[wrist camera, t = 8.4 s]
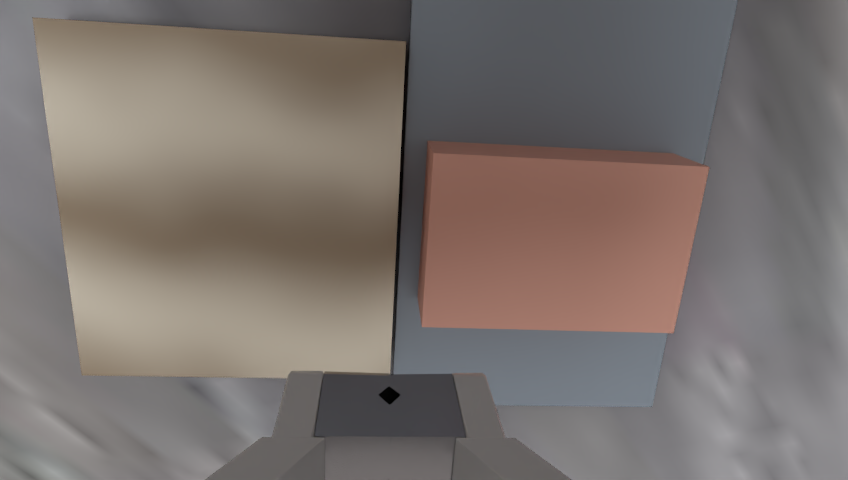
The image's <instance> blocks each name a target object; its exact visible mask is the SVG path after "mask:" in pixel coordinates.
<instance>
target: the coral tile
mask: <svg viewBox="0 0 848 480" xmlns="http://www.w3.org/2000/svg"><path fill="white" fill-rule="evenodd" d="M708 172H709V167H708V166H706V165H703V164H700V163H698V162H695V161H692V160H690V159H687V158H684V157H682V156H679V155H676V154H674V153H658V152H638V151H619V150H600V149H580V148H561V147H542V146H523V145H503V144H484V143H465V142H445V141H427V156H426V172H425V187H424V203H423V218H422V234H421V249H420V265H419V281H418V296H417V298H418V305H419V311H420V318H421V325H422V327H436V328H477V329H519V330H561V331H602V332H644V333H674V329H675V324H676V320H677V315H678V310H679V306H680V301H681V296H682V292H683V287H684V283H685V278H686V273H687V269H688V264H689V260H690V255H691V250H692V246H693V241H694V236H695V232H696V227H697V223H698V218H699V213H700V209H701V204H702V200H703V195H704V190H705V186H706V181H707V176H708Z"/></svg>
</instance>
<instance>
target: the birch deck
mask: <svg viewBox="0 0 848 480" xmlns="http://www.w3.org/2000/svg"><path fill="white" fill-rule="evenodd" d="M32 18H33V17H32ZM33 25H34V33H35V40H36V47H37V54H38V62H39V69H40V76H41V83H42V90H43V98H44V105H45V112H46V119H47V127H48V134H49V141H50V148H51V156H52V163H53V170H54V177H55V185H56V192H57V199H58V206H59V214H60V221H61V228H62V235H63V243H64V250H65V257H66V264H67V272H68V279H69V286H70V293H71V300H72V308H73V315H74V322H75V329H76V337H77V344H78V351H79V358H80V366H81V373H82V375H95V376H165V377H235V378H287V377H288V374H289V373H290V372H291V371H323V372H325V371H332V372H362V373H389V374H390V364H391V344H392V323H393V302H394V281H395V261H396V240H397V219H398V199H399V178H400V157H401V137H402V116H403V95H404V74H405V54H406V41H391V40H376V39H360V38H345V37H329V36H313V35H298V34H282V33H267V32H251V31H235V30H220V29H204V28H189V27H173V26H157V25H142V24H126V23H111V22H95V21H79V20H64V19H48V18H33Z"/></svg>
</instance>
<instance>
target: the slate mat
mask: <svg viewBox="0 0 848 480" xmlns="http://www.w3.org/2000/svg"><path fill="white" fill-rule="evenodd" d="M737 2H738V0H412V1H411V21H410V41H409V61H408V81H407V101H406V121H405V141H404V161H403V181H402V201H401V221H400V241H399V261H398V281H397V301H396V321H395V341H394V361H393V374H451V373H483V374H484V375H486V378H487V381H488V384H489V388H490V391H491V394H492V397H493V400H494V403H495V405H517V406H610V407H652V405H653V400H654V396H655V391H656V386H657V381H658V377H659V372H660V367H661V362H662V358H663V353H664V348H665V343H666V339H667V334H668V333H644V332H602V331H561V330H519V329H477V328H436V327H422V325H421V318H420V311H419V305H418V298H417V296H418V281H419V265H420V249H421V234H422V218H423V203H424V187H425V172H426V156H427V141H445V142H465V143H484V144H503V145H523V146H542V147H561V148H580V149H600V150H619V151H638V152H658V153H674V154H676V155H679V156H682V157H684V158H687V159H690V160H692V161H695V162H698V163H700V164H703V163H704V159H705V154H706V149H707V144H708V140H709V135H710V130H711V125H712V121H713V116H714V111H715V106H716V102H717V97H718V92H719V87H720V83H721V78H722V73H723V68H724V64H725V59H726V54H727V49H728V45H729V40H730V35H731V31H732V26H733V21H734V16H735V12H736V7H737Z"/></svg>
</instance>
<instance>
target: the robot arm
mask: <svg viewBox="0 0 848 480" xmlns="http://www.w3.org/2000/svg"><path fill="white" fill-rule="evenodd" d="M205 480H571V479H570V478H569V477H567V476H566V475H564V474H563V473H562V472H560V471H559V470H558V469H556V468H555V467H554V466H552V465H551V464H549V463H548V462H547V461H545V460H544V459H543V458H541V457H540V456H539V455H537V454H536V453H535V452H533V451H532V450H530V449H529V448H528V447H526V446H525V445H524V444H522V443H521V442H520V441H518V440H517V439H515V438H505V435H504V431H503V428H502V425H501V422H500V419H499V416H498V413H497V409H496V406H495V403H494V400H493V397H492V394H491V391H490V388H489V384H488V381H487V378H486V375H484V374H483V373H451V374H389V373H362V372H332V371H325V372H323V371H291V372H290V373H289V374H288V377H287V381H286V385H285V389H284V392H283V396H282V400H281V404H280V408H279V412H278V416H277V420H276V423H275V427H274V431H273V435H272V437H262V438H260V439H259V440H258V441H256V442H255V443H254V444H252V445H251V446H250V447H248V448H247V449H246V450H244V451H243V452H242V453H240V454H239V455H238V456H236V457H235V458H233V459H232V460H231V461H229V462H228V463H227V464H225V465H224V466H223V467H221V468H220V469H219V470H217V471H216V472H215V473H213V474H212V475H211V476H209V477H208V478H207V479H205Z"/></svg>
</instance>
